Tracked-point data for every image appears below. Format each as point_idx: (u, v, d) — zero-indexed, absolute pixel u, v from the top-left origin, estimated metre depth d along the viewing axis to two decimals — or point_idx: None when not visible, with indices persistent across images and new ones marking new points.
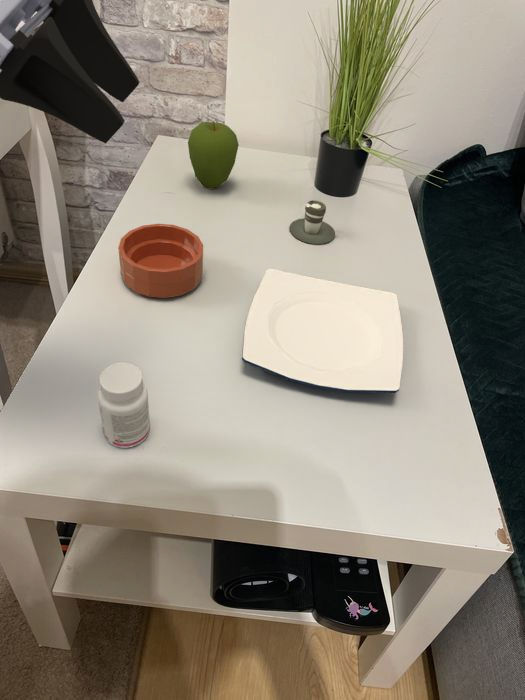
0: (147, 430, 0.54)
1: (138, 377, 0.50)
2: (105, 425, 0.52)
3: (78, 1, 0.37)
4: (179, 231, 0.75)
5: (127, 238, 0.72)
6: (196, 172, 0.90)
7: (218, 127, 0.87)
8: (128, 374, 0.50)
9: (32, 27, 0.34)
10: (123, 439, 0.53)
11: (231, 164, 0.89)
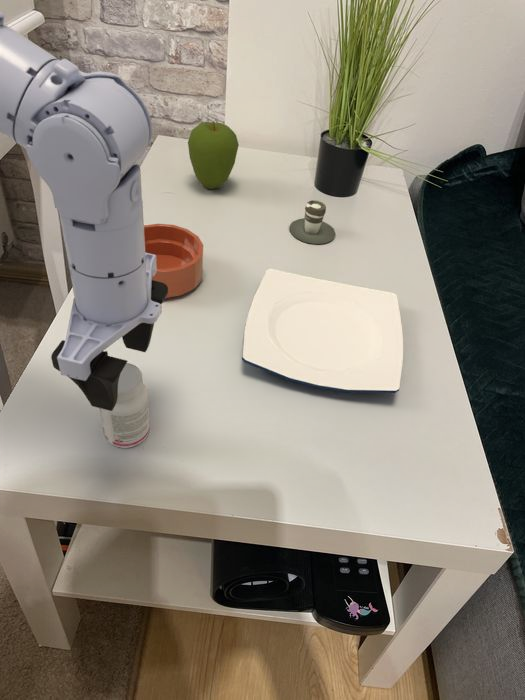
0: (147, 430, 0.54)
1: (138, 377, 0.50)
2: (105, 425, 0.52)
3: None
4: (179, 231, 0.75)
5: None
6: (196, 172, 0.90)
7: (218, 127, 0.87)
8: (128, 374, 0.50)
9: None
10: (123, 439, 0.53)
11: (231, 164, 0.89)
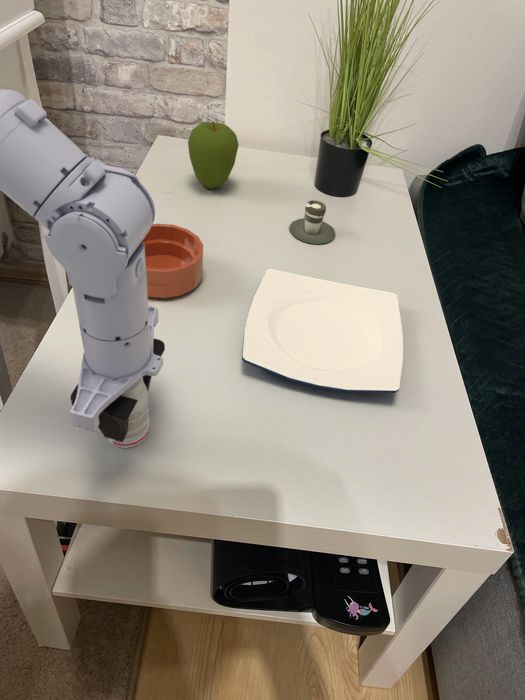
0: (147, 430, 0.54)
1: None
2: None
3: None
4: (179, 231, 0.75)
5: None
6: (196, 172, 0.90)
7: (218, 127, 0.87)
8: None
9: None
10: None
11: (231, 164, 0.89)
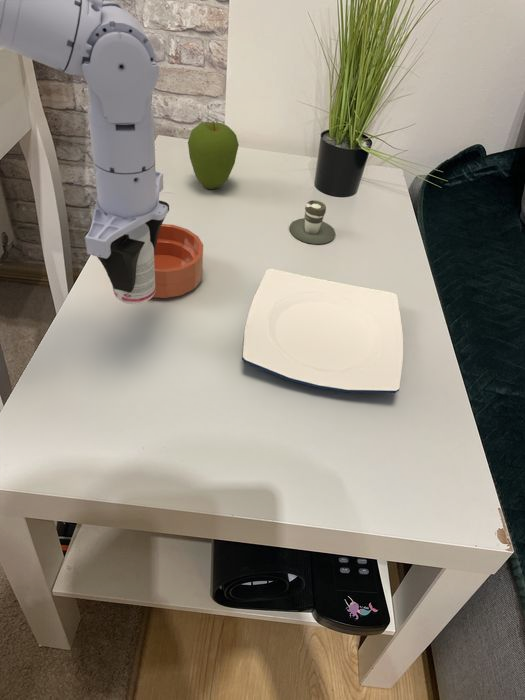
0: (153, 289, 0.60)
1: (145, 229, 0.55)
2: None
3: None
4: (179, 231, 0.75)
5: None
6: (196, 172, 0.90)
7: (218, 127, 0.87)
8: None
9: None
10: (131, 294, 0.58)
11: (231, 164, 0.89)
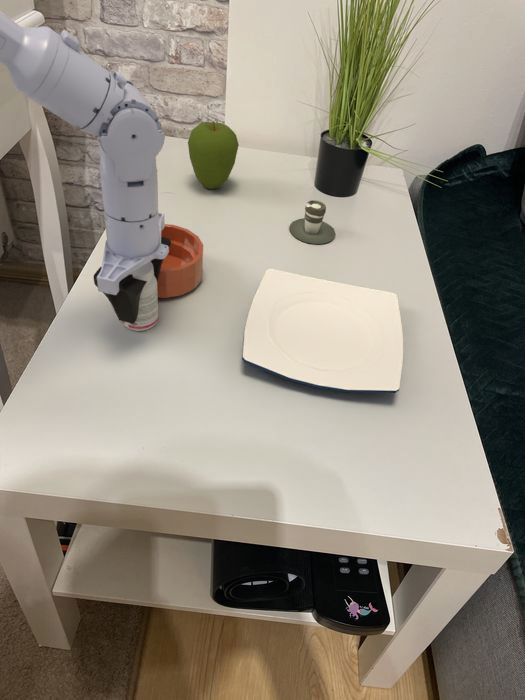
0: (156, 317, 0.67)
1: (150, 266, 0.62)
2: None
3: None
4: (179, 231, 0.75)
5: None
6: (196, 172, 0.90)
7: (218, 127, 0.87)
8: None
9: None
10: (137, 322, 0.65)
11: (231, 164, 0.89)
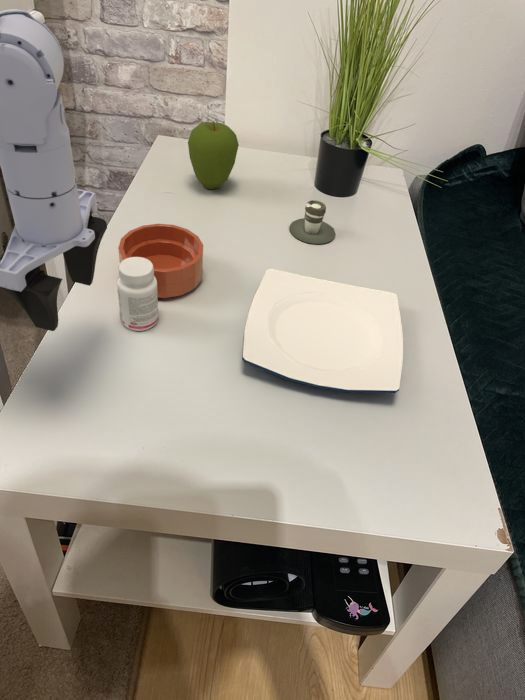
0: (156, 317, 0.67)
1: (150, 266, 0.62)
2: (122, 309, 0.64)
3: None
4: (179, 231, 0.75)
5: (127, 238, 0.72)
6: (196, 172, 0.90)
7: (218, 127, 0.87)
8: (141, 264, 0.62)
9: None
10: (137, 322, 0.65)
11: (231, 164, 0.89)
